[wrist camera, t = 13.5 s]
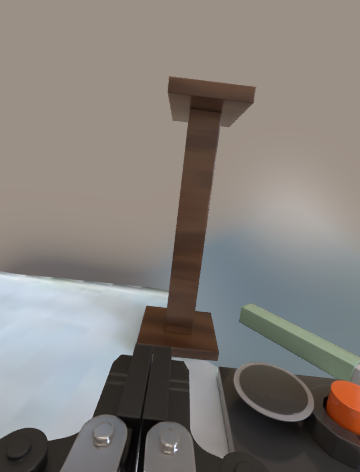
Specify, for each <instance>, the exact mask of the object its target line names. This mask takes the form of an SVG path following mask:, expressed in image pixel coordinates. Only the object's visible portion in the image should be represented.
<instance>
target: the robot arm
mask: <svg viewBox="0 0 360 472" xmlns="http://www.w3.org/2000/svg"><path fill="white" fill-rule="evenodd" d="M153 348H154V345H150V344H141V343H136V345H135V349H134V353H133V356H130V355H120V356H119V357H118V358H117V359H116V360H115V361H114V362H113V364H112V367H111V369H110V372H109V375H108V378H107V380H106V383H105V386H104V388H103V391H102V394H101V396H100V399H99V402H98V404H97V407H96V410H95V412H94V415H93V417H92V419H90V420H89V421H88V422H86V423H85V424H84V426H83V427H82V428H81V430H80V432H78V433H76V434H74V435H72V436H70V437H66V438H61V439H56V440H51V441H47V437H46V435H45V434H44V433H43V432H42V431H40V430H38V429H35V428H24V429H20V430H16V431H14V432H12V433H10V434H8V435H6V436H5V437H3V438H1V439H0V472H135V471H136V465H137V459H138V468H137V472H269V471H268V470H267V469H266V467H265V466H264V465H263V464H262V463H261V462H260V461H259V460H258V459H256V458H255V457H253V456H252V455H250V454H247V453H245V452H231V453H229V454H227V455H226V456H225V457H224V458H223V459H221V458H219V457H217V456H215V455H212V454H210V453H208V452H206V451H205V450H203V449H202V448H201V447H200V446H199V445H198V444H197V443H196V442H195V440H194V438H193V436H192V434H191V430H190V399H189V370H188V368H187V366H186V365H185V363H184V361H176V360H171V357H172V347H169V346H160V345H155V348H154V354H153ZM152 357H153V360H152ZM139 447H140V448H139ZM138 453H139V458H138Z"/></svg>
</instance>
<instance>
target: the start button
mask: <svg viewBox="0 0 360 472" xmlns="http://www.w3.org/2000/svg"><path fill="white" fill-rule="evenodd" d="M326 412H327V414H328V415H329V417H330V418H331V419H332V420H333V421H335V422H336V423H337V424H338V425H339V426H341V427H342V428H344V429H347V430H349V431H351V432H353V433H355V434H357V435H360V386H359V385H357V384H354V383H352V382H348V381H343V380H338V381H334V382H333V383H332V384H331V387H330V391H329V395H328V398H327V402H326Z"/></svg>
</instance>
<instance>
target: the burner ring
mask: <svg viewBox="0 0 360 472" xmlns="http://www.w3.org/2000/svg"><path fill="white" fill-rule="evenodd" d="M234 385H235V388H236V390H237V392H238V394H239V395H240V396H241V398H242V399H243V400H244V401H245V402H246V403H247V404H248V405H249V406H251V407H252V408H253V409H255V410H256V411H258V412H260V413H262V414H264V415H266V416H268V417H271V418H274V419H277V420H281V421H300V420H303V419H305V418H307V417H308V416H309V415H310V414H311V413H312V411H313V409H314V399H313V396H312V394H311V392H310V390H309V389H308V387H307V386H306V385H305V384H304V383H303V382H302V381H301V380H300V379H299V378H298V377H296V376H295V375H294V374H292V373H290V372H289V371H287V370H285V369H283V368H280V367H278V366H275V365H272V364H268V363H262V362H252V363H247V364H244V365H242V366H240V367H239V368H238V369H237V370H236V372H235V374H234Z"/></svg>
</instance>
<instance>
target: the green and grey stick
mask: <svg viewBox="0 0 360 472" xmlns="http://www.w3.org/2000/svg"><path fill="white" fill-rule="evenodd" d="M239 322H240V323H242V324H244V325H246V326H247V327H249V328H251V329H253V330H254V331H256V332H258V333H259V334H261V335H263V336H265V337H266V338H268V339H270V340H271V341H273V342H275V343H277V344H278V345H280V346H282V347H284V348H286V349H287V350H289V351H290V352H292V353H294V354H296V355H297V356H299V357H301V358H303V359H304V360H306V361H308V362H309V363H311V364H313V365H315V366H316V367H318V368H320V369H321V370H323V371H325V372H327V373H328V374H330V375H332V376H334V377H335V378H337V379H340V380H345V381H348V382H352V383H354V384H357V385H359V386H360V357H358V356H356V355H354V354H352V353H350V352H348V351H346V350H344V349H342V348H340V347H338V346H336V345H334V344H332V343H330V342H328V341H326V340H324V339H322V338H320V337H318V336H316V335H314V334H312V333H310V332H308V331H306V330H304V329H302V328H300V327H298V326H296V325H294V324H292V323H290V322H288V321H286V320H284V319H282V318H280V317H278V316H276V315H274V314H272V313H270V312H268V311H266V310H264V309H262V308H260V307H258V306H256V305H254V304H252V303H251V304H248V305H245V306H243V307H242V308H241V314H240V320H239Z"/></svg>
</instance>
